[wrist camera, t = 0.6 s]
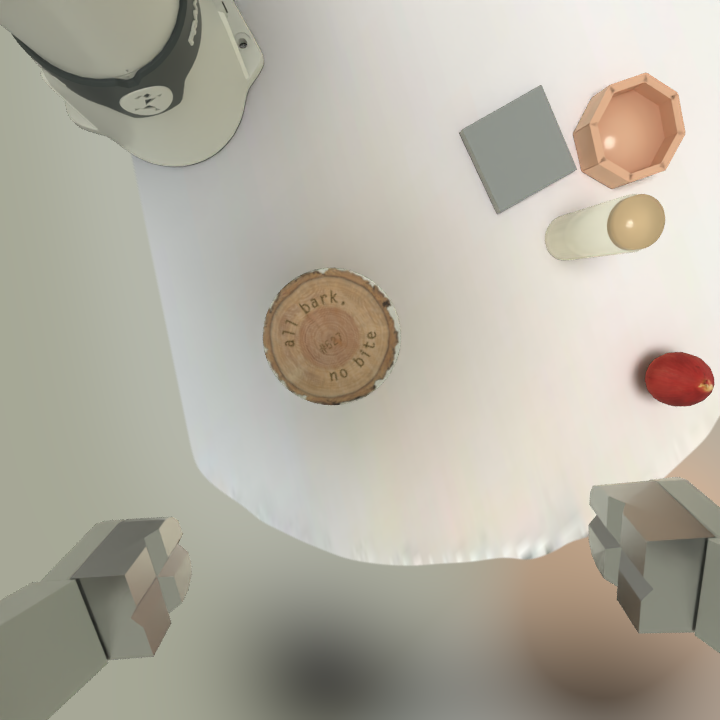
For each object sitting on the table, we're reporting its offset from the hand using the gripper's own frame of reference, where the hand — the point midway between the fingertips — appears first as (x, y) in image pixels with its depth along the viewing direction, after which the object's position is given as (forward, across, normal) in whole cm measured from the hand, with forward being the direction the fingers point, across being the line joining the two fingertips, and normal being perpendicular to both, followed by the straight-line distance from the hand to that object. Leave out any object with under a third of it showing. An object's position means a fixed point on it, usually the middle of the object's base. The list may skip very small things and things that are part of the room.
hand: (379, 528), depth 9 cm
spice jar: (+42, -20, -2) cm, 47 cm away
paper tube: (+38, +6, +2) cm, 38 cm away
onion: (+42, -30, +14) cm, 53 cm away
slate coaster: (+43, -15, -11) cm, 47 cm away
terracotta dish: (+44, -26, -11) cm, 53 cm away
